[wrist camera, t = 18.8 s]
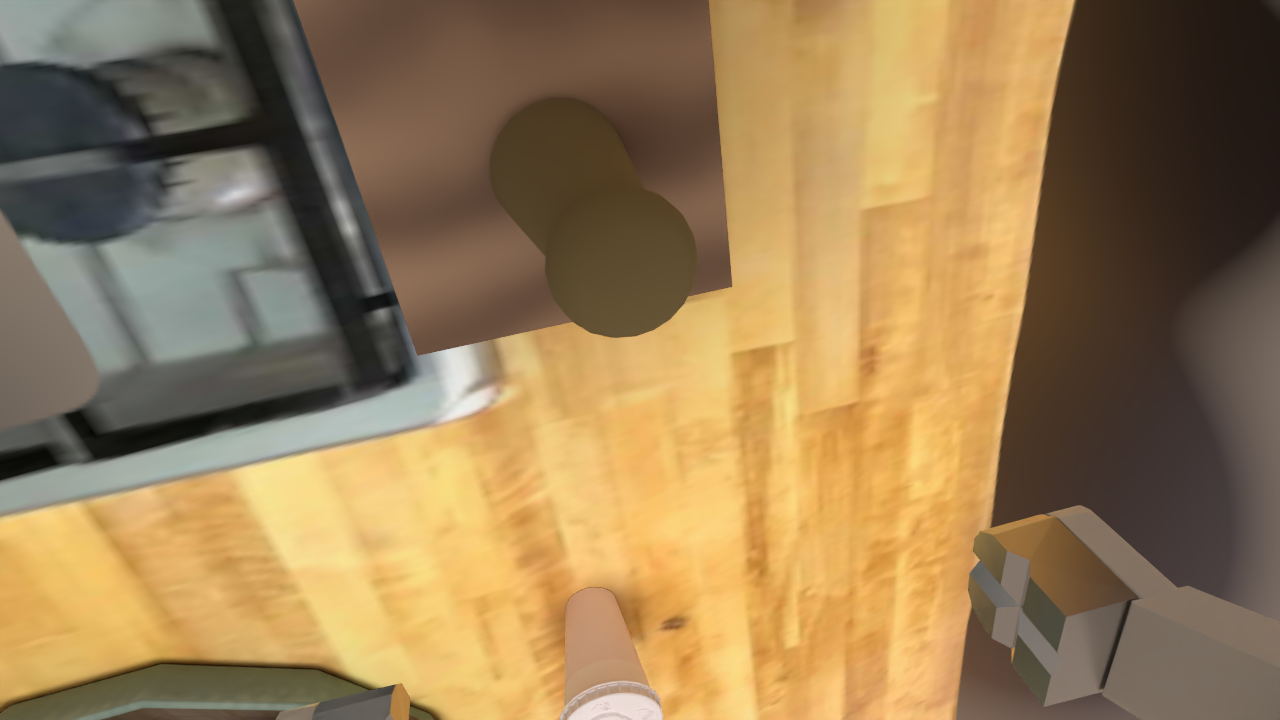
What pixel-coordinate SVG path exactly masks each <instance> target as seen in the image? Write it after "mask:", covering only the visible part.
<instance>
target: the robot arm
mask: <svg viewBox="0 0 1280 720" xmlns="http://www.w3.org/2000/svg"><path fill="white" fill-rule="evenodd" d="M973 552H974V553H975V554H976V556H977V557H978V558H979V559H980V561H979V562H978V563H977V565H976V566H975V567H974V568H973V570H972V571H971V572H970V574H969V585H968V591H969V595H970V599H971V603H972V606H973V609H974V611H975V613H976V615H977V617H978V619H979V621H980V623H981V624H982V625H983V627H984V628H985V630H986V631H987V632H988V634H989V635H990V637H991V638H992V639H994V640H996V641H998V642H1000V643H1002V644H1004V645H1006V646H1008V647H1010V648H1012V666H1013V667H1014V668H1015V670H1016V671H1017V672H1018V674H1019V675H1020V676H1021V678H1022V679H1023V680H1024V682H1025V683H1026V684H1027V686H1028V687H1029V688H1030V689H1031V691H1032V692H1033V693H1034V695H1035V696H1036V697H1037V699H1038V700H1039V701H1040V703H1041V704H1042V705H1043V706H1044V707H1045V706H1049V705H1053V704H1056V703H1060V702H1064V701H1068V700H1072V699H1076V698H1080V697H1084V696H1087V695H1091V694H1095V693H1099V692H1103V694H1102V695H1103V696H1104V697H1106V698H1108V699H1109V700H1111V701H1112V702H1114V703H1115V704H1117V705H1119V706H1120V707H1122V708H1123V709H1125V710H1127V711H1128V712H1130V713H1132V714H1133V715H1135V716H1137V717H1138V718H1140V719H1141V720H1280V622H1277V621H1275V620H1272V619H1270V618H1267V617H1265V616H1262V615H1260V614H1257V613H1254V612H1252V611H1250V610H1247V609H1245V608H1242V607H1240V606H1237V605H1235V604H1232V603H1230V602H1227V601H1224V600H1222V599H1219V598H1217V597H1214V596H1212V595H1209V594H1207V593H1204V592H1202V591H1199V590H1197V589H1194V588H1192V587H1189V586H1186V587H1182V588H1177V587H1176V586H1174V585H1173V584H1172V583H1171V582H1170V581H1169V580H1168V579H1167V578H1166V577H1164V576H1163V575H1162V574H1161V573H1160V572H1159V571H1158V570H1156V568H1155V567H1153V566H1152V565H1151V564H1150V563H1149V562H1148V561H1147V560H1146V559H1144V558H1143V557H1142V556H1141V555H1140V554H1139V553H1138V552H1137V551H1136V550H1135V549H1133V548H1132V547H1131V546H1130V545H1129V544H1128V543H1127V542H1126V541H1124V540H1123V539H1122V538H1121V537H1120V536H1119V535H1118V534H1117V533H1116V532H1114V531H1113V530H1112V529H1111V528H1110V527H1109V526H1108V525H1107V524H1106V523H1104V522H1103V521H1102V520H1101V519H1100V518H1099V517H1098V516H1097V515H1095V514H1094V513H1093V512H1092V511H1091V510H1089V509H1087V508H1085V507H1083V506H1080V505H1079V506H1075V507H1071V508H1067V509H1063V510H1059V511H1055V512H1052V513H1048V514H1045V515H1037V516H1033V517H1030V518H1026V519H1023V520H1019V521H1015V522H1012V523H1008V524H1005V525H1001V526H997V527H994V528H990V529H986V530H983V531H980V532H979V534H978V535H977V536H976V537H975V540H974V546H973ZM409 708H410V697H409V695H408V694H407V692H406V690H405V688H404V686H403V685H402V683H401V684H396V685H391V686H387V687H383V688H378V689H374V690H370V691H366V692H361V693H357V694H353V695H348V696H344V697H340V698H335V699H331V700H327V701H323V702H319V703H315V704H311V705H307V706H303V707H299V708H295V709H291V710H286V711H282V712H280V713H279V715H278V716H277V718H276V720H420V719H419V718H417V717H414V716H412V715H410V714H409Z"/></svg>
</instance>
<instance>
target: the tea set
mask: <svg viewBox="0 0 1280 720" xmlns="http://www.w3.org/2000/svg"><path fill="white" fill-rule="evenodd" d="M366 691H370V690H368V689H365V688H363V687H360V686H358V685H355V684H352V683H350V682H347V681H345V680H342V679H340V678H337V677H335V676H332V675H329V674H327V673H324V672H322V671H319V670H312V669H284V668H257V667H229V666H202V665H174V664H160V665H156V666H152V667H149V668H145V669H141V670H138V671H134V672H131V673H127V674H123V675H120V676H116V677H112V678H109V679H105V680H101V681H98V682H94V683H91V684H87V685H83V686H80V687H76V688H72V689H69V690H65V691H61V692H58V693H54V694H51V695H47V696H43V697H40V698H36V699H32V700H29V701H25V702H22V703H18V704H14V705H11V706H9V707H8V708H7V709H5V710H4V711H3V712H1V713H0V720H276V718H277V716H278V715H279V713H280V712H282V711H286V710H291V709H295V708H299V707H303V706H307V705H311V704H315V703H319V702H323V701H327V700H331V699H335V698H340V697H344V696H348V695H353V694H357V693H361V692H366ZM409 714H410V715H412V716H414V717H417V718H419V719H420V720H434V718H433V717H432V716H431V715H430V714H429V713H427V712H424V711H422V710H419V709H417V708H414V707H411V706H410V708H409Z"/></svg>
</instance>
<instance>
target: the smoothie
mask: <svg viewBox="0 0 1280 720" xmlns="http://www.w3.org/2000/svg"><path fill="white" fill-rule="evenodd" d="M560 720H663V714H662V710H661V701H660V698H659V696H658V694H657V693H656V691H654V690H653V689H652V688H650V686H649V683H648V680H647V678H646V675H645V673H644V670H643V668H642V665H641V663H640V660H639V657H638V655H637V652H636V650H635V647H634V645H633V642H632V639H631V637H630V634H629V632H628V629H627V626H626V624H625V621H624V619H623V616H622V614H621V611H620V608H619V606H618V603H617V601H616V598H615V596H614V595H613V593H611V592H610V591H609V590H607V589H604V588H598V587H593V588H587V589H583V590H581V591H579V592H577V593H575V594H574V595H573V596H572V597H571V598H570V599H569V600H568V602H567V604H566V619H565V691H564V709H563V711H562V713H561V715H560Z"/></svg>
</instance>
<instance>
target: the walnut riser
mask: <svg viewBox="0 0 1280 720" xmlns="http://www.w3.org/2000/svg"><path fill="white" fill-rule="evenodd" d="M293 1H294V4H295V7H296V10H297V13H298V15H299V18H300V21H301V24H302V27H303V30H304V33H305V35H306V38H307V41H308V44H309V47H310V50H311V53H312V55H313V58H314V61H315V64H316V67H317V70H318V73H319V75H320V78H321V81H322V84H323V87H324V90H325V93H326V95H327V98H328V101H329V104H330V107H331V110H332V113H333V115H334V118H335V121H336V124H337V127H338V130H339V133H340V135H341V138H342V141H343V144H344V147H345V150H346V153H347V155H348V158H349V161H350V164H351V167H352V170H353V173H354V176H355V178H356V181H357V184H358V187H359V190H360V193H361V196H362V198H363V201H364V204H365V207H366V210H367V213H368V216H369V218H370V221H371V224H372V227H373V230H374V233H375V236H376V238H377V241H378V244H379V247H380V250H381V253H382V256H383V258H384V261H385V264H386V267H387V270H388V273H389V276H390V278H391V281H392V284H393V287H394V290H395V293H396V296H397V298H398V301H399V304H400V307H401V310H402V313H403V316H404V318H405V321H406V324H407V327H408V330H409V333H410V336H411V339H412V341H413V344H414V347H415V350H416V353H417V356H418V355H423V354H427V353H432V352H437V351H441V350H446V349H450V348H455V347H459V346H464V345H468V344H473V343H478V342H482V341H487V340H491V339H496V338H500V337H505V336H510V335H514V334H519V333H523V332H528V331H532V330H537V329H541V328H546V327H551V326H555V325H560V324H564V323H569V322H573V321H571V320H570V319H569V318H568V317H567V316H566V315H565V314H564V312H563V311H562V310H561V308H560V307H559V306H558V304H557V303H556V302H555V301H554V298H553V296H552V294H551V291H550V288H549V284H548V281H547V278H546V274H545V260H546V257H545V256H544V255H543V253H542V252H541V251H540V250H539V249H538V248H537V247H536V245H535V244H534V243H533V242H532V241H531V240H530V239H529V237H528V236H527V235H526V234H525V233H524V232H523V231H522V229H521V228H520V227H519V226H518V225H517V224H516V223H515V222H514V220H513V219H512V218H511V217H510V216H509V215H508V213H507V212H506V211H505V209H504V208H503V207H502V205H501V204H500V203H499V201H498V200H497V199H496V196H495V193H494V190H493V187H492V184H491V180H490V156H491V153H492V150H493V147H494V144H495V141H496V139H497V136H498V134H499V133H500V132H501V130H502V129H503V128H504V127H505V125H506V124H507V123H508V121H509V120H510V119H511V117H513V116H514V115H516V114H517V113H519V112H520V111H522V110H523V109H524V108H526V107H527V106H529V105H530V104H534V103H537V102H541V101H544V100H548V99H551V98H560V99H575V100H578V101H580V102H583V103H585V104H588V105H590V106H593V107H595V108H596V109H597V110H598V111H599V112H601V113H602V114H603V115H604V116H605V117H606V118H607V119H609V120H610V121H611V123H612V125H613V127H614V128H615V130H616V132H617V134H618V136H619V137H620V139H621V141H622V143H623V145H624V147H625V149H626V151H627V153H628V155H629V157H630V159H631V162H632V164H633V166H634V168H635V170H636V172H637V174H638V176H639V178H640V180H641V182H642V184H643V186H644V188H645V189H646V190H648V191H651V192H654V193H657V194H660V195H661V196H662V197H664V198H665V199H666V200H667V201H668V202H670V203H671V204H672V205H673V206H674V207H676V208H677V209H678V210H679V211H680V212H681V213H682V215H683V216H684V218H685V220H686V222H687V223H688V225H689V227H690V229H691V231H692V233H693V235H694V239H695V243H696V250H697V257H698V265H697V270H696V276H695V281H694V284H693V287H692V289H691V291H690V293H689V295H688V296H692V295H697V294H701V293H706V292H710V291H715V290H719V289H724V288H728V287H732V278H731V266H730V254H729V242H728V230H727V218H726V206H725V194H724V182H723V170H722V158H721V146H720V134H719V122H718V110H717V98H716V86H715V74H714V62H713V50H712V38H711V26H710V14H709V2H708V0H293Z"/></svg>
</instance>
